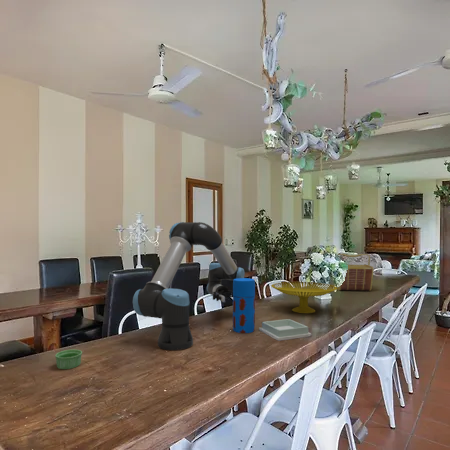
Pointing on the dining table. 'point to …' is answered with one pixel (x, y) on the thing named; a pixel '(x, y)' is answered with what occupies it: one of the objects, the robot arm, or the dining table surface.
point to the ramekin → (68, 359)
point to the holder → (284, 329)
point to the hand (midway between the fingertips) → (236, 298)
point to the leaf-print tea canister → (243, 305)
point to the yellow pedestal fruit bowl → (304, 293)
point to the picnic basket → (358, 276)
